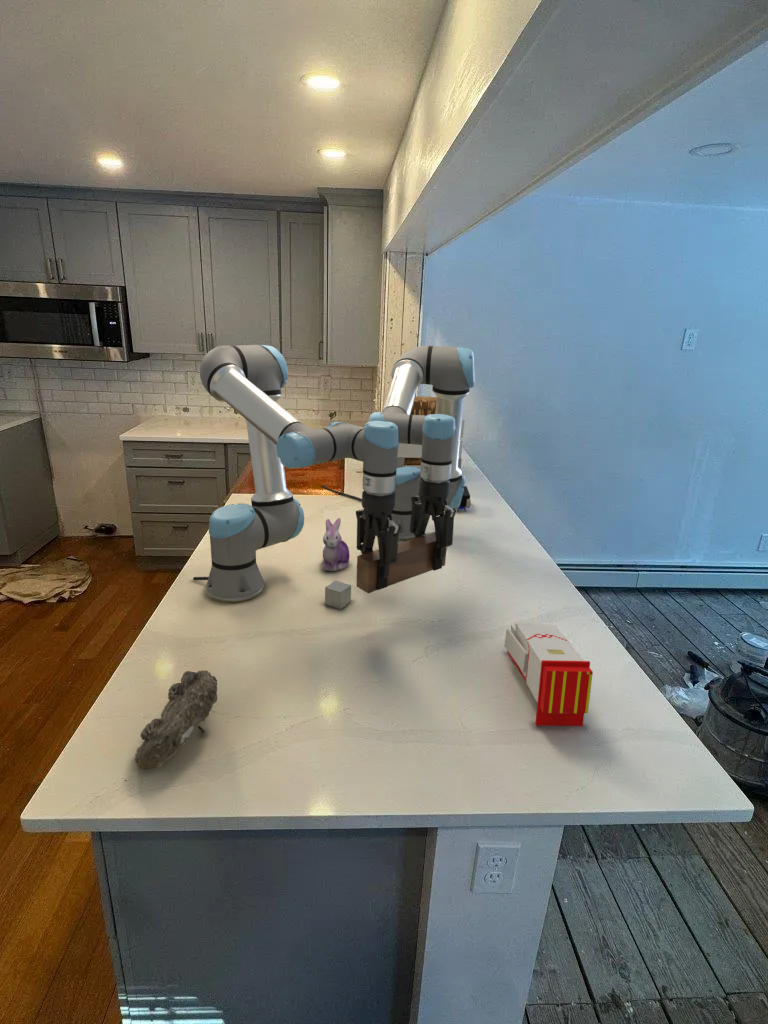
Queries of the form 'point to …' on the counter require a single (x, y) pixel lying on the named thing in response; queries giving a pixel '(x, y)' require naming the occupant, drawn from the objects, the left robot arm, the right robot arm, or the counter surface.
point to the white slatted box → (413, 453)
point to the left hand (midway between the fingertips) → (374, 583)
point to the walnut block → (398, 562)
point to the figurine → (334, 548)
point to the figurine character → (465, 500)
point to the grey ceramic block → (337, 594)
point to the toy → (551, 672)
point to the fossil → (178, 718)
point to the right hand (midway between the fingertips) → (428, 564)
